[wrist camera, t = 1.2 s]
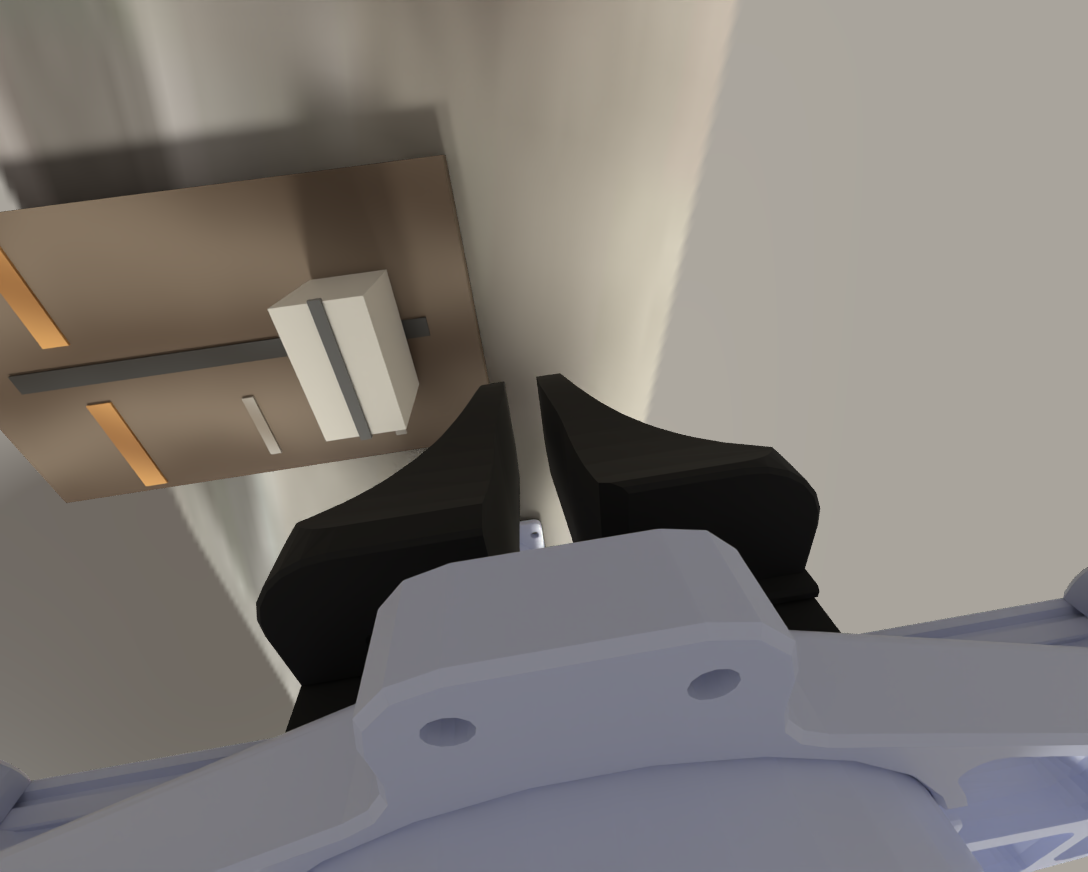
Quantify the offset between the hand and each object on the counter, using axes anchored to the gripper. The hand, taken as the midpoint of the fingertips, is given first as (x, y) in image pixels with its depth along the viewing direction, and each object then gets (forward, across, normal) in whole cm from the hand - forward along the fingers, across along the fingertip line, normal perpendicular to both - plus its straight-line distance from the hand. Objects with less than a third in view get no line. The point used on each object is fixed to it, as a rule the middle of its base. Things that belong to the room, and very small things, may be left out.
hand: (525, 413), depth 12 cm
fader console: (+10, +12, 0) cm, 16 cm away
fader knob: (+9, +6, 0) cm, 11 cm away
